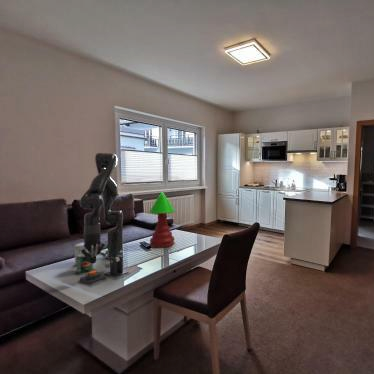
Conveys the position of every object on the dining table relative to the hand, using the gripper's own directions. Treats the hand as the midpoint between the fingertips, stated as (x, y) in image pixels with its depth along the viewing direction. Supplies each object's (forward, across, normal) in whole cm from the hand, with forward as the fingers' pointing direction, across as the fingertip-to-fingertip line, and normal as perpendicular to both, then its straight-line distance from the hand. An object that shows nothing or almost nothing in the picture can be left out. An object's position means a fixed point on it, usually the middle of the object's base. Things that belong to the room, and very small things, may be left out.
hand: (92, 263), depth 128 cm
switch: (+5, -11, +1) cm, 12 cm away
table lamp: (+10, -67, -16) cm, 70 cm away
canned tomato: (+10, -5, -16) cm, 20 cm away
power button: (+7, 0, 0) cm, 7 cm away
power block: (+10, 0, 0) cm, 10 cm away
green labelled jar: (+10, -13, -30) cm, 34 cm away
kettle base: (+10, -11, +4) cm, 16 cm away
